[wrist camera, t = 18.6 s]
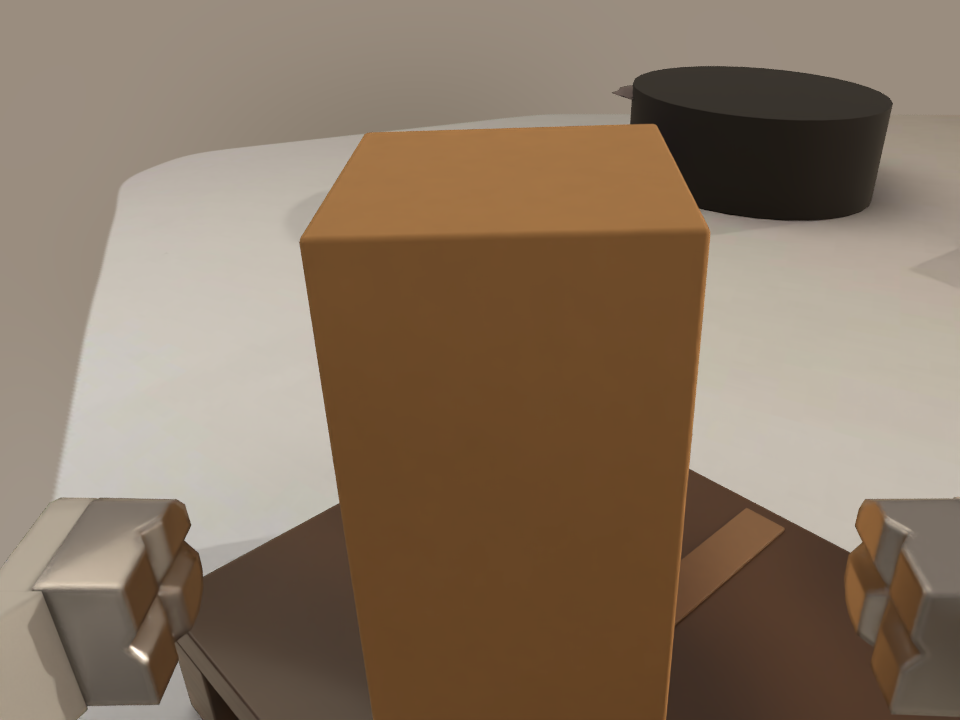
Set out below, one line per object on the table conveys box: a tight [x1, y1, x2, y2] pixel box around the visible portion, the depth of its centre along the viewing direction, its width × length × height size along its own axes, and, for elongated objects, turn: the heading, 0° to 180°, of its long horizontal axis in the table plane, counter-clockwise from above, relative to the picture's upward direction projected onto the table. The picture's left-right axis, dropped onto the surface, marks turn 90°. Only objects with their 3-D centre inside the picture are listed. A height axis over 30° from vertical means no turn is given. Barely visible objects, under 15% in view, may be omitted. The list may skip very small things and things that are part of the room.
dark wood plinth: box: [175, 469, 960, 720], centre depth 21 cm, size 14×18×4 cm
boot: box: [299, 124, 710, 720], centre depth 18 cm, size 10×5×12 cm, turn 177°
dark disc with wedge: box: [612, 66, 893, 220], centre depth 60 cm, size 14×18×8 cm
